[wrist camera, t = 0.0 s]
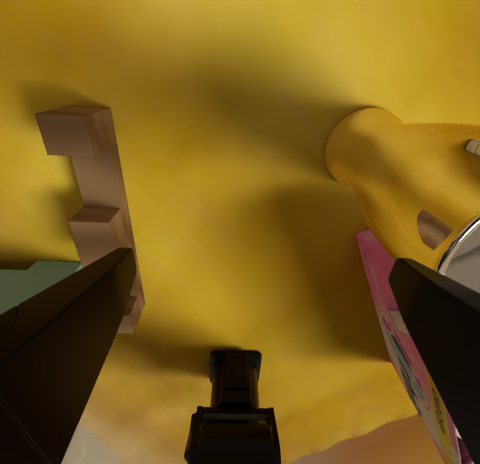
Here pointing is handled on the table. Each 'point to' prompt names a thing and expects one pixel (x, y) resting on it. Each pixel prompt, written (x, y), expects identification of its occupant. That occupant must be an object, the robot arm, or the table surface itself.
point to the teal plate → (31, 281)
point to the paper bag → (88, 449)
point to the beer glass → (414, 187)
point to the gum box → (408, 354)
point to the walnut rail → (95, 189)
